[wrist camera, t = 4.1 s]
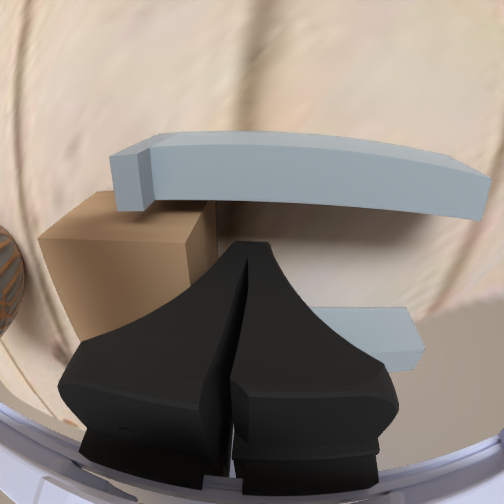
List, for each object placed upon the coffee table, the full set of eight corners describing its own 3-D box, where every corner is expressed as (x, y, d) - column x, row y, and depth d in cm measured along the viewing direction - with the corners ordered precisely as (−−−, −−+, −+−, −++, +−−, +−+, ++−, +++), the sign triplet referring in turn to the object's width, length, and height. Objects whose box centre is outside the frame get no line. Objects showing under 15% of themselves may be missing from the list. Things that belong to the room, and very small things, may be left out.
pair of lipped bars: (449, 156, 9) (506, 187, 6) (396, 328, 13) (417, 383, 10) (159, 134, 9) (109, 156, 6) (183, 323, 14) (164, 381, 11)
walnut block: (214, 189, 10) (185, 243, 7) (220, 294, 13) (203, 367, 9) (97, 191, 10) (37, 238, 7) (119, 286, 13) (82, 346, 9)
